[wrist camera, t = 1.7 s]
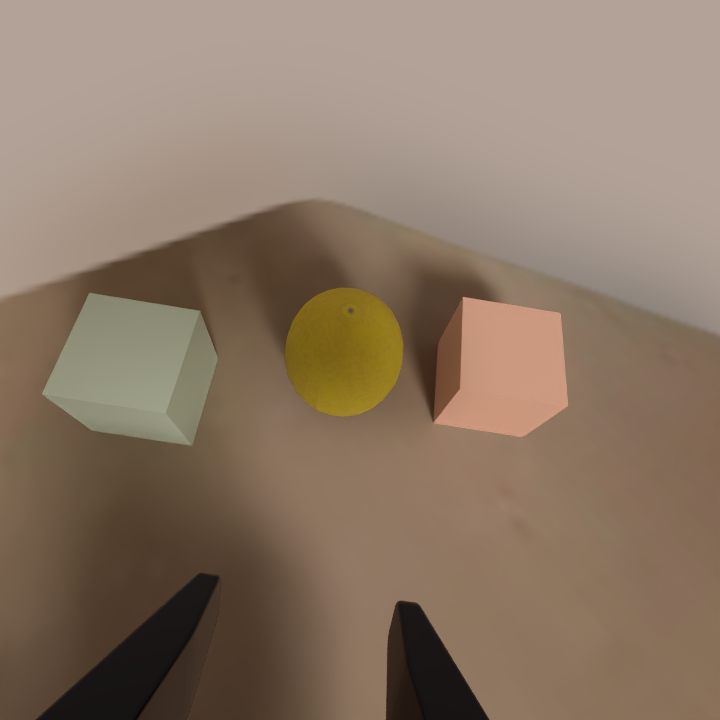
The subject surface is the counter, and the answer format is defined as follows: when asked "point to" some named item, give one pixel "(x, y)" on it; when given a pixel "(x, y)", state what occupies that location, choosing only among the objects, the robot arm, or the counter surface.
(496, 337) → the terracotta block
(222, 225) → the counter surface
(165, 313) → the sage block
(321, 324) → the lemon
